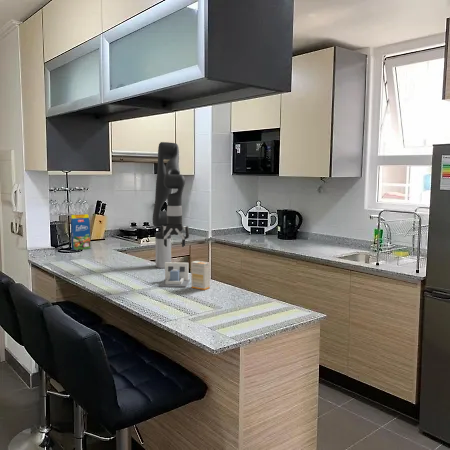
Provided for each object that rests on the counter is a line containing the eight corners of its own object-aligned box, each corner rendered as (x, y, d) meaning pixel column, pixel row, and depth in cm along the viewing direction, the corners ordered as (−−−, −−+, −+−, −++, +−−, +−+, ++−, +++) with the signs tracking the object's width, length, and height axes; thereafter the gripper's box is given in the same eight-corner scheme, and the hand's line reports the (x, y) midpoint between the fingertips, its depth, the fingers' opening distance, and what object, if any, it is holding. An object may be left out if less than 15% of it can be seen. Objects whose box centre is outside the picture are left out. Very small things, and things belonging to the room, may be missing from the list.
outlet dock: (164, 280, 240) (164, 262, 239) (189, 281, 239) (189, 262, 238) (159, 286, 227) (159, 267, 226) (185, 287, 226) (185, 267, 225)
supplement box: (210, 288, 225) (210, 262, 223) (204, 290, 221) (204, 263, 219) (196, 285, 230) (196, 260, 228) (190, 287, 226) (190, 261, 224)
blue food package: (90, 248, 331) (89, 214, 328) (73, 250, 325) (72, 215, 322) (88, 247, 337) (87, 213, 334) (71, 248, 330) (70, 214, 327)
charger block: (171, 281, 235) (171, 269, 234) (179, 281, 235) (179, 269, 234) (170, 283, 231) (170, 270, 230) (178, 283, 231) (178, 270, 230)
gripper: (189, 214, 232) (189, 245, 234) (161, 213, 233) (162, 245, 235) (187, 215, 224) (187, 248, 227) (158, 215, 225) (159, 247, 228)
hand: (174, 246), depth 231 cm, fingers open, 8 cm apart
